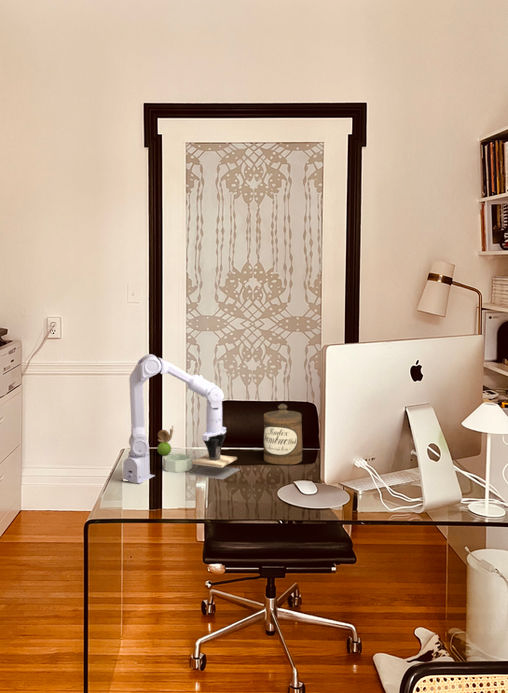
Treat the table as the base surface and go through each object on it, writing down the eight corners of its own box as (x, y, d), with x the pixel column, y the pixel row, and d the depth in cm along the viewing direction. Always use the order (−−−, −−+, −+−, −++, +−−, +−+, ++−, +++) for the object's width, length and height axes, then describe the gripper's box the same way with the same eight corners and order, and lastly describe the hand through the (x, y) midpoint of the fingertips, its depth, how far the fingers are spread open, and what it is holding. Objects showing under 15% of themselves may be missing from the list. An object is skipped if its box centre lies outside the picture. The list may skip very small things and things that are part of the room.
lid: (221, 467, 250) (221, 452, 249) (192, 463, 255) (191, 449, 254) (236, 459, 261) (236, 445, 260) (208, 455, 266) (208, 441, 265)
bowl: (182, 474, 256) (182, 462, 256) (158, 471, 261) (158, 459, 260) (196, 467, 265) (196, 455, 265) (173, 464, 270) (173, 452, 269)
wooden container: (258, 463, 270) (258, 406, 268) (270, 453, 284) (270, 399, 282) (296, 467, 266) (296, 409, 263) (306, 456, 280) (306, 401, 277)
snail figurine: (172, 457, 280) (172, 427, 278) (156, 457, 280) (155, 427, 278) (174, 453, 285) (174, 424, 284) (158, 453, 285) (158, 424, 284)
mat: (223, 480, 249) (223, 479, 249) (188, 475, 255) (188, 474, 255) (240, 470, 262) (240, 469, 262) (207, 465, 268) (207, 464, 267)
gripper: (214, 424, 248) (214, 462, 249) (233, 416, 261) (233, 452, 262) (196, 422, 251) (197, 459, 252) (216, 414, 264) (216, 450, 265)
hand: (214, 455), depth 258 cm, fingers closed on lid, 3 cm apart
